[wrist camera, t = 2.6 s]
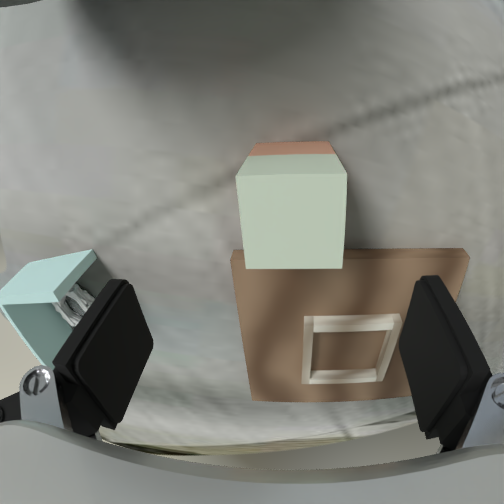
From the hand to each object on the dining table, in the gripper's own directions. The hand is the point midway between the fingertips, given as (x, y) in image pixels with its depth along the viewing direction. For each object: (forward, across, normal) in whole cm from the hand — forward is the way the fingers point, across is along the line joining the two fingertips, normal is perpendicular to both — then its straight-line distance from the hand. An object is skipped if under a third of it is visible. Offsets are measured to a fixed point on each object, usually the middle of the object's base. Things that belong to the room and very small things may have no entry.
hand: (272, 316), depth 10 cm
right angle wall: (+16, +23, +12) cm, 31 cm away
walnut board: (+14, -6, +16) cm, 22 cm away
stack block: (+14, -1, 0) cm, 14 cm away
